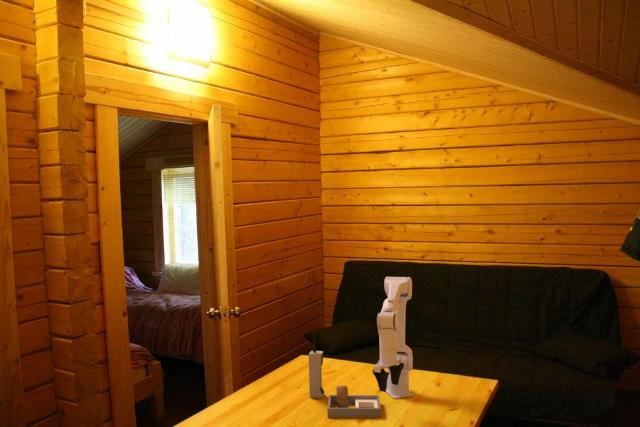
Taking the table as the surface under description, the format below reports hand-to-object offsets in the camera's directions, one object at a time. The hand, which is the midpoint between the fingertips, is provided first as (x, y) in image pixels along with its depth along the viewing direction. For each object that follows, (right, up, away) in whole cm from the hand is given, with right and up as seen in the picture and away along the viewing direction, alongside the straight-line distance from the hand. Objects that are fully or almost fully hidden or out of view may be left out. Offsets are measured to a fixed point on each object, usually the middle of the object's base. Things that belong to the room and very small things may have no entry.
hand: (388, 387), depth 175 cm
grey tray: (-11, -10, +7) cm, 17 cm away
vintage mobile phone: (-24, -10, +21) cm, 34 cm away
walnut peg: (-15, -10, +7) cm, 20 cm away
